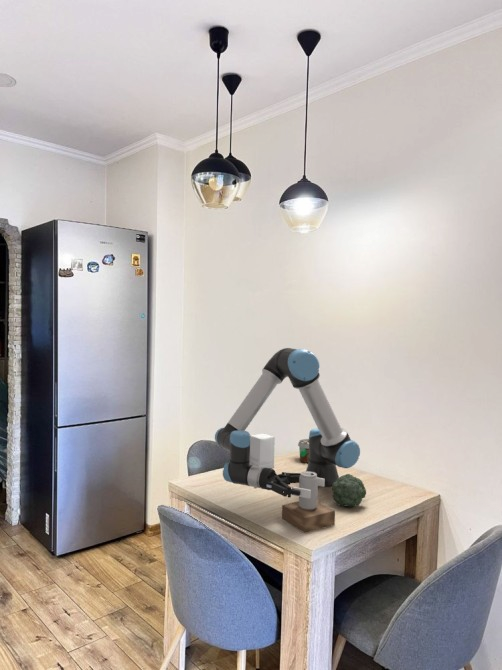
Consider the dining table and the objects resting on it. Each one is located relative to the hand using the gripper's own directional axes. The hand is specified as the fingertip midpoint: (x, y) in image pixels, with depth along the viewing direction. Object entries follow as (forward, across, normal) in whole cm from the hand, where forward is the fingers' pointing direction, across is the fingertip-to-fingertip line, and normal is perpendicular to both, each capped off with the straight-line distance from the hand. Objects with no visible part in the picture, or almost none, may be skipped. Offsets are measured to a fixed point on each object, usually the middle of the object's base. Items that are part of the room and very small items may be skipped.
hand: (317, 488), depth 165 cm
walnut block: (-3, 0, -12) cm, 13 cm away
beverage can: (-3, 0, -8) cm, 8 cm away
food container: (-33, -69, -13) cm, 77 cm away
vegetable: (+3, -24, -13) cm, 27 cm away
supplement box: (-46, -49, -13) cm, 69 cm away
